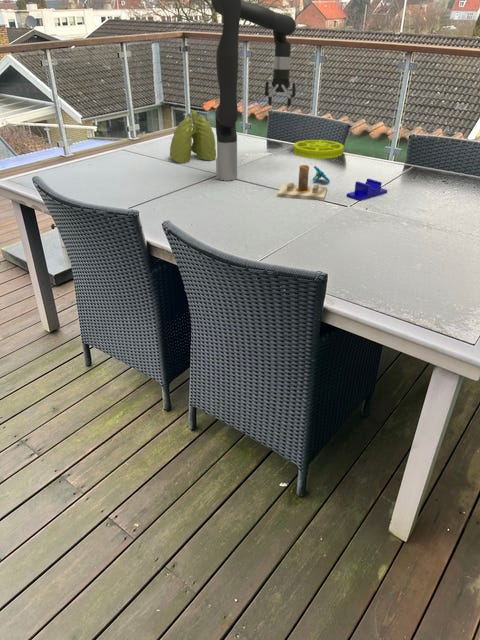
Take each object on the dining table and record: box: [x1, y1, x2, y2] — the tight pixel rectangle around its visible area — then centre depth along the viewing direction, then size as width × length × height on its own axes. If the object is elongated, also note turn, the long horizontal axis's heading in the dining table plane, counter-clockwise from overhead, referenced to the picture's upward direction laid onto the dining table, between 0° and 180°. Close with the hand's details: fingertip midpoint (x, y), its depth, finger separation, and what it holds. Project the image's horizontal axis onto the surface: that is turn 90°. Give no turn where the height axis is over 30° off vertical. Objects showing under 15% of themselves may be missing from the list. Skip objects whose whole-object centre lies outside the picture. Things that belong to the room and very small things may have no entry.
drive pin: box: [297, 164, 310, 191], centre depth 211 cm, size 4×4×10 cm
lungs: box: [169, 109, 217, 164], centre depth 258 cm, size 25×16×24 cm, turn 110°
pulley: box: [293, 139, 345, 160], centre depth 276 cm, size 28×28×5 cm
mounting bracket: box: [346, 178, 388, 202], centre depth 211 cm, size 18×7×6 cm, turn 127°
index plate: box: [276, 182, 328, 201], centre depth 213 cm, size 20×14×4 cm
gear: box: [312, 165, 331, 183], centre depth 227 cm, size 11×6×10 cm
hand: (279, 106), depth 232 cm, fingers open, 8 cm apart
